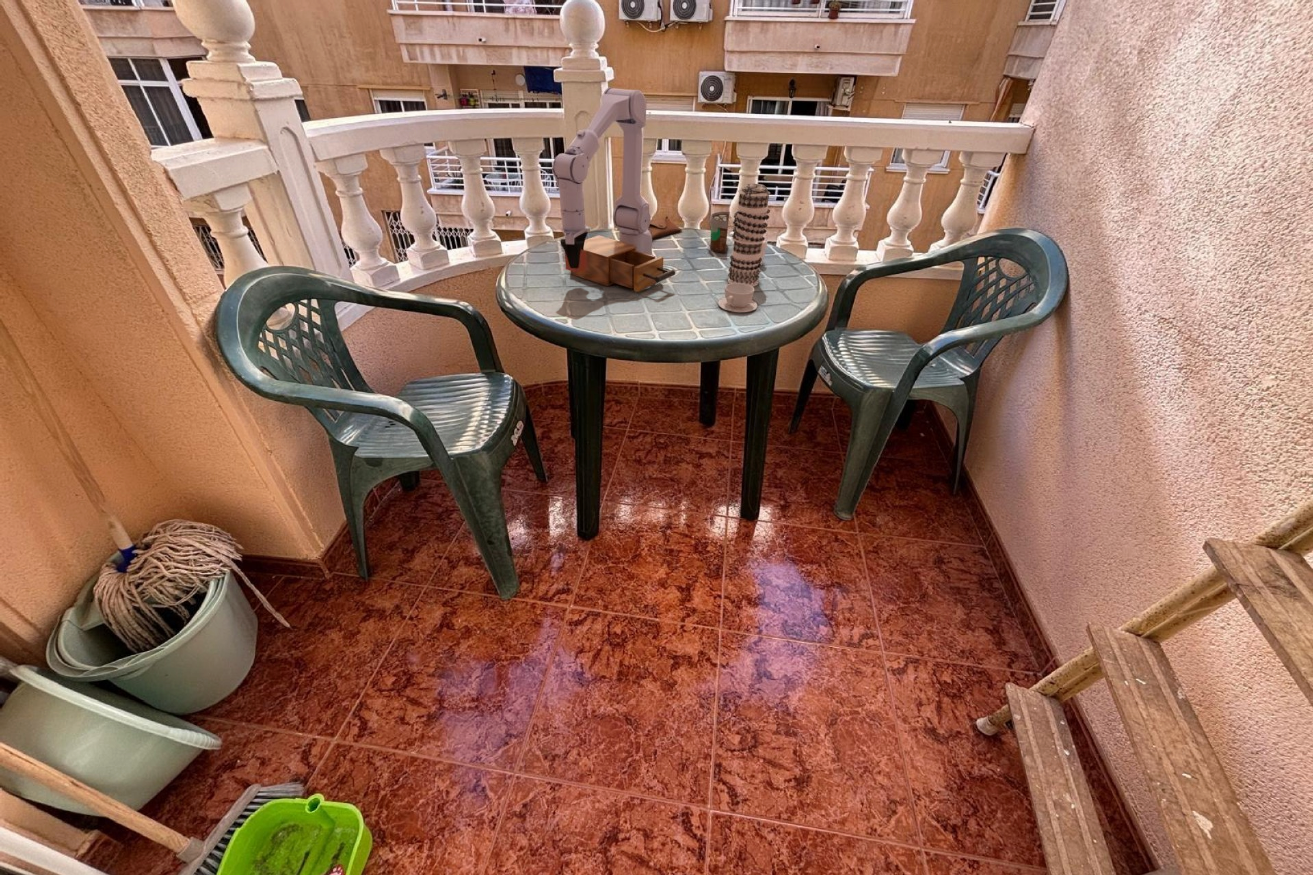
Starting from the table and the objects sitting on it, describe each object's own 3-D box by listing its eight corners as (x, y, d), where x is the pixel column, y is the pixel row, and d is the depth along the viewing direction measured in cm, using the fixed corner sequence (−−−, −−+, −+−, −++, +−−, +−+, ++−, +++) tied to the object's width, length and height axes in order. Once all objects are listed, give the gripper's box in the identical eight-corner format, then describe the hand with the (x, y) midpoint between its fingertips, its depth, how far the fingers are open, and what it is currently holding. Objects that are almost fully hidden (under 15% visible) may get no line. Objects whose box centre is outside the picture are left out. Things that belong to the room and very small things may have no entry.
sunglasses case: (649, 240, 175) (642, 220, 173) (636, 247, 180) (628, 227, 179) (684, 230, 186) (677, 210, 184) (670, 236, 191) (664, 218, 189)
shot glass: (737, 261, 163) (740, 237, 159) (756, 258, 165) (759, 235, 161) (749, 268, 158) (752, 244, 154) (768, 266, 160) (772, 242, 156)
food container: (707, 241, 178) (710, 210, 172) (726, 242, 177) (729, 211, 171) (705, 253, 168) (708, 220, 162) (725, 254, 167) (728, 221, 161)
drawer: (679, 285, 144) (680, 262, 140) (654, 297, 137) (654, 273, 133) (626, 269, 153) (625, 246, 149) (600, 279, 146) (599, 256, 142)
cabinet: (636, 274, 152) (636, 246, 147) (607, 286, 144) (607, 256, 139) (599, 262, 159) (598, 235, 154) (570, 273, 151) (568, 245, 146)
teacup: (729, 295, 141) (731, 278, 139) (763, 304, 137) (766, 287, 134) (710, 307, 135) (712, 289, 132) (745, 317, 130) (748, 299, 128)
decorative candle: (765, 286, 147) (780, 189, 132) (734, 289, 145) (746, 190, 130) (751, 274, 154) (764, 181, 139) (721, 277, 152) (731, 182, 137)
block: (576, 265, 142) (575, 247, 139) (587, 269, 140) (586, 250, 137) (565, 269, 139) (564, 251, 136) (576, 273, 137) (575, 254, 134)
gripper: (584, 217, 124) (587, 274, 133) (592, 202, 136) (595, 255, 144) (554, 216, 124) (559, 273, 133) (565, 201, 136) (569, 254, 144)
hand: (576, 263), depth 138 cm, fingers closed on block, 5 cm apart
